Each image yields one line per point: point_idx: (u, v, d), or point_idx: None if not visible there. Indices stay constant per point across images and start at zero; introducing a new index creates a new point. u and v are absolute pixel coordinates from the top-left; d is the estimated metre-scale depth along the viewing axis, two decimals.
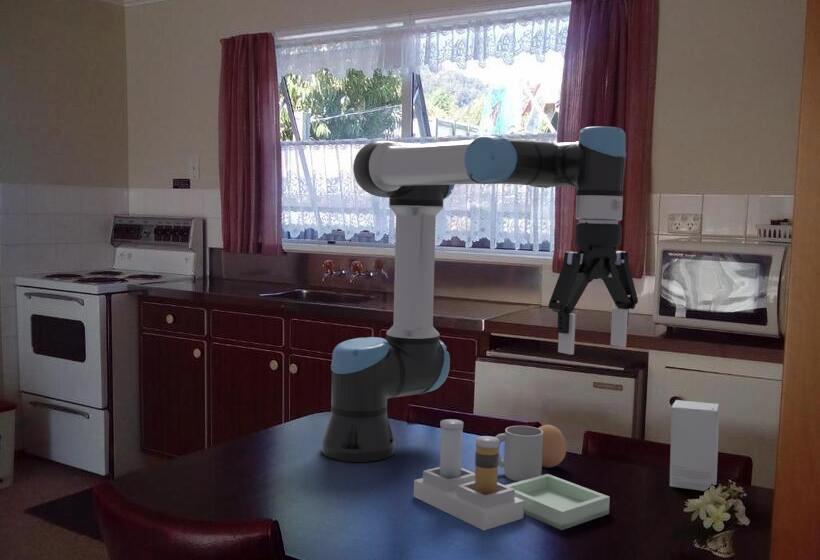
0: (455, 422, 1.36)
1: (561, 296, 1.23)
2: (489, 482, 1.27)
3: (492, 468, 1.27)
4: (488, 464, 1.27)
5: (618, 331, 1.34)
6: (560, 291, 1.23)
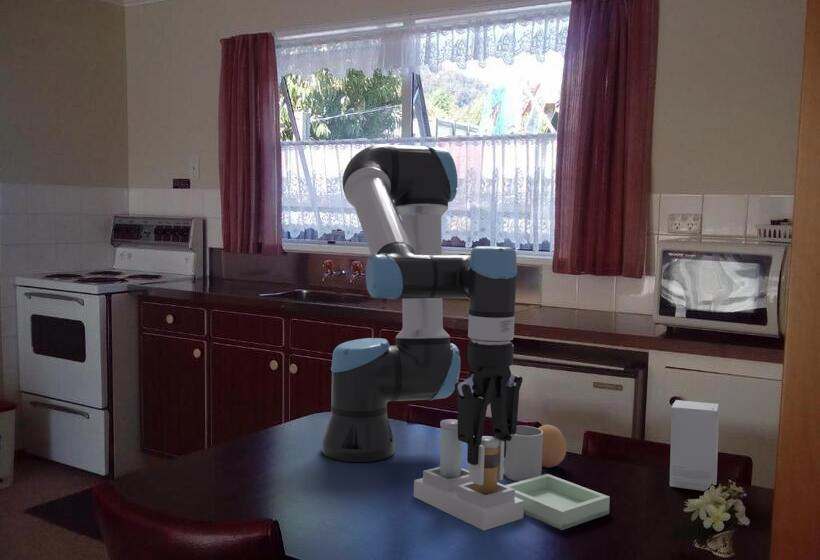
0: (455, 422, 1.36)
1: (465, 431, 1.24)
2: (489, 482, 1.27)
3: (492, 468, 1.27)
4: (488, 464, 1.27)
5: None
6: (463, 425, 1.25)
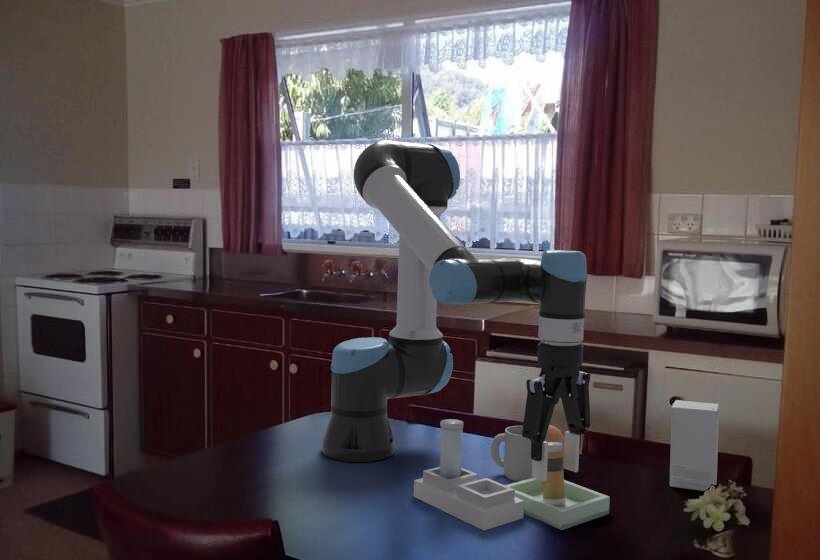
0: (455, 422, 1.36)
1: (532, 427, 1.27)
2: (556, 486, 1.32)
3: (558, 471, 1.32)
4: (554, 467, 1.32)
5: (571, 456, 1.35)
6: (530, 421, 1.28)
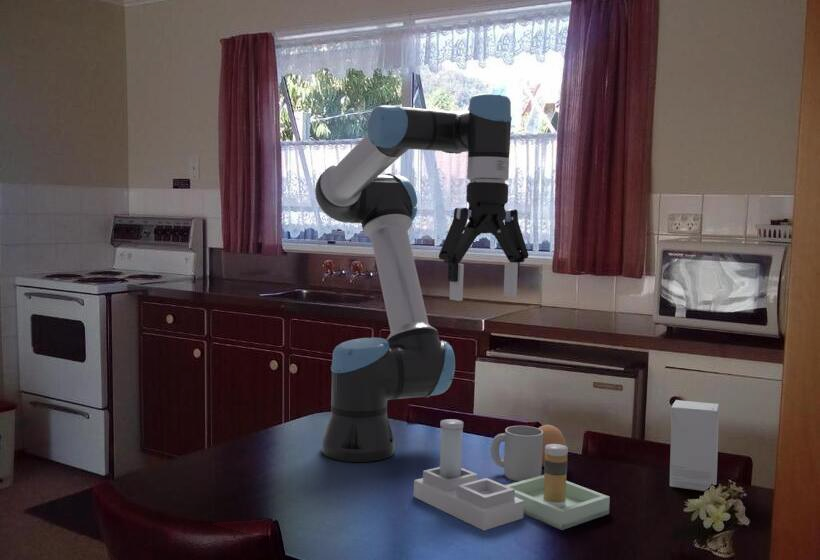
0: (455, 422, 1.36)
1: (449, 247, 1.36)
2: (558, 489, 1.31)
3: (562, 475, 1.31)
4: (558, 471, 1.31)
5: (510, 283, 1.46)
6: (449, 243, 1.36)
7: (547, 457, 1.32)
